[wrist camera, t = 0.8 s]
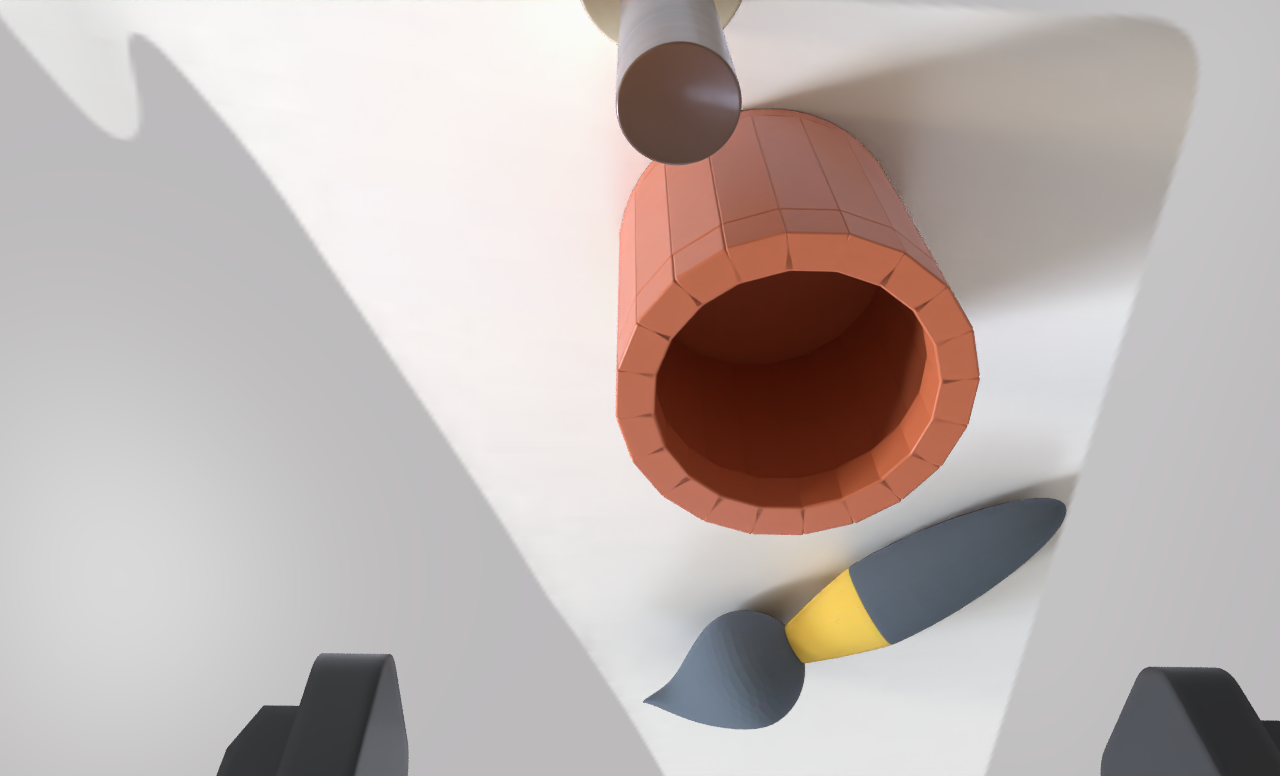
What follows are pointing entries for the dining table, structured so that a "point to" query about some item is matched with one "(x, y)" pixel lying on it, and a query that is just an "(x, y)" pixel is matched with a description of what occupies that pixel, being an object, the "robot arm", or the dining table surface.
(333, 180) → the dining table surface
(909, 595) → the paintbrush
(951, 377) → the jar
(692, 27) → the brown rod with cap
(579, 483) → the dining table surface
